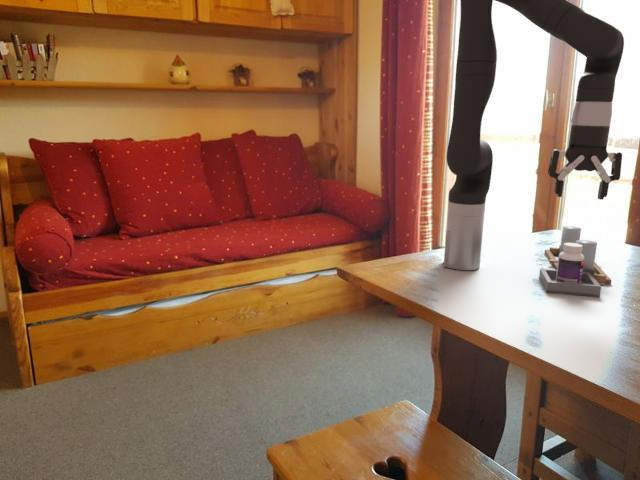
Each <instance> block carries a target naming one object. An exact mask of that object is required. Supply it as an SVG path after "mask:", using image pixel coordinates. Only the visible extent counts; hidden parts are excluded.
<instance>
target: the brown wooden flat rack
mask: <svg viewBox="0 0 640 480" xmlns="http://www.w3.org/2000/svg"><path fill="white" fill-rule="evenodd" d="M559 253H560V245H559V247H551V246H550V247H549V249H545V250H544V254H545V255H544V256H546V258H547V260H548V261H549V263H550V264H551V266H552V269H553V270H557V265H558V259H556V257H555V256H558V257H559ZM583 272H589V273H590V274H591V275H592V276H593V277H594V279H595V280H596V281H597V282H598V283H599V284H601V285H610V286H611V285H612V279H611V277H609V276H608V275H607V274H606V273H605V271H604V270H602V268H601V267H600V266H599V265H598V264H597V263H596V262H594V268H593V269H583Z"/></svg>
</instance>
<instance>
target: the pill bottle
mask: <svg viewBox="0 0 640 480" xmlns="http://www.w3.org/2000/svg"><path fill="white" fill-rule="evenodd" d="M582 248H583V246H582V245H581V244H577V243H564V245H563V250H564V252H561V253H560V254H559V256H558V257H557V260H558V265H557V273H556V282H567V283H580V284H581V280H582V273H583V266H584V256H583V255H582V254H581V252H582Z"/></svg>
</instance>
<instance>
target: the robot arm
mask: <svg viewBox="0 0 640 480" xmlns="http://www.w3.org/2000/svg"><path fill="white" fill-rule="evenodd" d="M493 1H496V2H499V3H501V4H503V5H506V6H508V7H510V8H512V9H514V10H515V11H516V12H518V13H519V14H521V15H522V16H524V17H525V18H526V19H527V20H528V21H529V22H531V23H532V24H534V25H535V26H537V27H538V28H540V30H543V31H545V32H546V33H548V34H549V35H551V36H552V37H554V38H556V39H557V40H559V41H563V42H565V43H566V44H567V45H569V46H570V47H571V48H572V49H574V50H575V51H577V52H578V53H580V54H581V55H583V56H584V57H585V58H586V59H585V64H584V65H585V66H584V71H583V74H582V75H581V77H580V78H579V80H578V84H577V90H576V99H575V103H574V108H573V111H572V116H571V119H570V122H571V124H570V130H569V131H570V132H569V133H570V134H569V138H568V140H569V141H568V146H567V149H566V150H558V149H553V150H552V151H551V155H550V160H549V165H548V170H547V176H549V177H551V178H554V179H555V181H554V182H555V184H554V191H553V192H554V194H555V195H556V197H558V198H562V197H563V190H564V184H565V181H564V179H565V178H566V177H567V176H568V175H569V174H570V173H572V172H573V170H575V171H576V172H577V171H578V172H579V171H580V172H581V171H587V172H593V171H595V172H596V174H597V175H598V177H599V178H600V179H601V181H599V187H598V193H597V199H598V200H602V201H603V200H604V198H606V197H607V196H608V192H609V185H610V183H611V182H613V181H619V180H620V179H621V170H622V160H623V153H622V152H619V151H614V152H608V151H607V146H608V140H609V135H610V128H611V121H612V113H613V101H614V100H613V99H614V96H615V95H614V94H615V86H616V78H617V75H618V71H619V67H620V64H621V62H622V56H623V52H624V48H625V47H624V46H625V38H624V35H623V33H622V31H621V30H619V29H618V28H616V27H615V26H613V25H611V24H610V23H608V22H606V21H604V20H602V19H600V18H598V17H595V16H594V15H592V14H589V13H587V12H586V11H585V10H583V9H582V8H581V7H579V6H578V5H576V4H575V3H574V2H573V3H572V2H571V1H570V0H460V23H459V33H458V45H457V47H458V49H457V55H456V56H457V58H456V64H455V65H456V67H455V80H454V81H455V83H454V99H453V108H452V109H453V111H452V121H451V127H450V133H449V139H448V144H447V149H446V164H447V167H448V168H449V171H450V172H451V173H452V174H454V175H455V176H456V177H455V182H454V183H453V185H452V186H451V188H450V189H449V192H448V199H447V200H448V201H447V202H448V203H447V214H446V215H447V216H446V217H447V218H446V228H445V239H444V240H445V242H444V254H443V255H444V256H443V267H444V268H448V269H452V270H457V271H474V270H478V269H480V266H481V256H482V255H481V254H482V246H483V245H482V244H483V243H482V242H483V233H484V222H485V221H484V220H485V209H486V198H487V195H488V193H489V190H490V185H491V181H492V179H491V178H492V170H493V163H494V162H493V159H494V158H493V157H494V156H493V155H494V154H493V151H492V147H491V145H490V144H489V143H488V142H487V141H486V140H484V139H482V138H481V131H482V120H483V116H484V113H485V109H486V107H487V105H488V102H489V101H490V97H491V94H492V93H493V89H494V85H495V82H496V81H495V80H496V70H497V63H498V62H497V61H498V54H497V53H498V51H497V43H496V37H495V32H494V26H493V19H492V17H493V16H492V14H493V10H492V8H493ZM563 157H565V159H566V160H567V163H566V164H565V165H564V166H563V167H562V169H561V170H560V171H559V172H557V169H558V163H559V161H561V160H562V158H563ZM606 159H608V161H609V162H611V168H610V169H611V172H610V174H608V173H607V171H606V169H605V168H604V166H603V163H604V162H605V161H606Z"/></svg>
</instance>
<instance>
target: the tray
mask: <svg viewBox="0 0 640 480" xmlns="http://www.w3.org/2000/svg"><path fill="white" fill-rule="evenodd" d="M556 273H557V270H555V269H554V268H552V269H551V268H539V275H538V278H539V281H540V283H541V284H542V287H543V289H544V291H545V292H546V293H548V294H557V295H558V294H559V295H567V296H582V297H591V298H592V297H593V298H600V297H601V291H602V286H601V285H600V284H599V283H598V282H597V281H596V280H595V279H594V277H593V276H592V275H591V274H590V273H589V272H583V273H582V280H581V284H580V283H567V282H556Z"/></svg>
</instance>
